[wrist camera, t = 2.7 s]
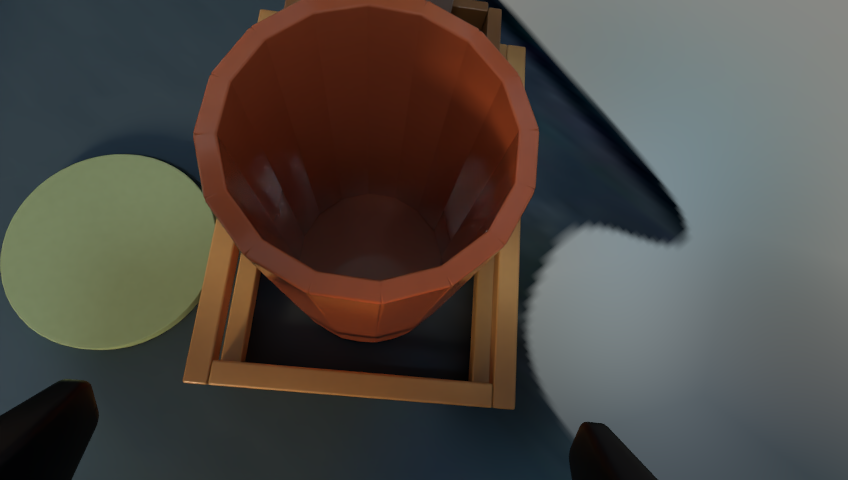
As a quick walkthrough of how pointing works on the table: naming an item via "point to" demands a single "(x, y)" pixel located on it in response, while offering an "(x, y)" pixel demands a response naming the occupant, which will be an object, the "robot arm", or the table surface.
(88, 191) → the coaster
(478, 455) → the table surface
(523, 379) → the table surface
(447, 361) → the table surface
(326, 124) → the tumbler
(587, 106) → the table surface
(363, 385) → the dish rack
